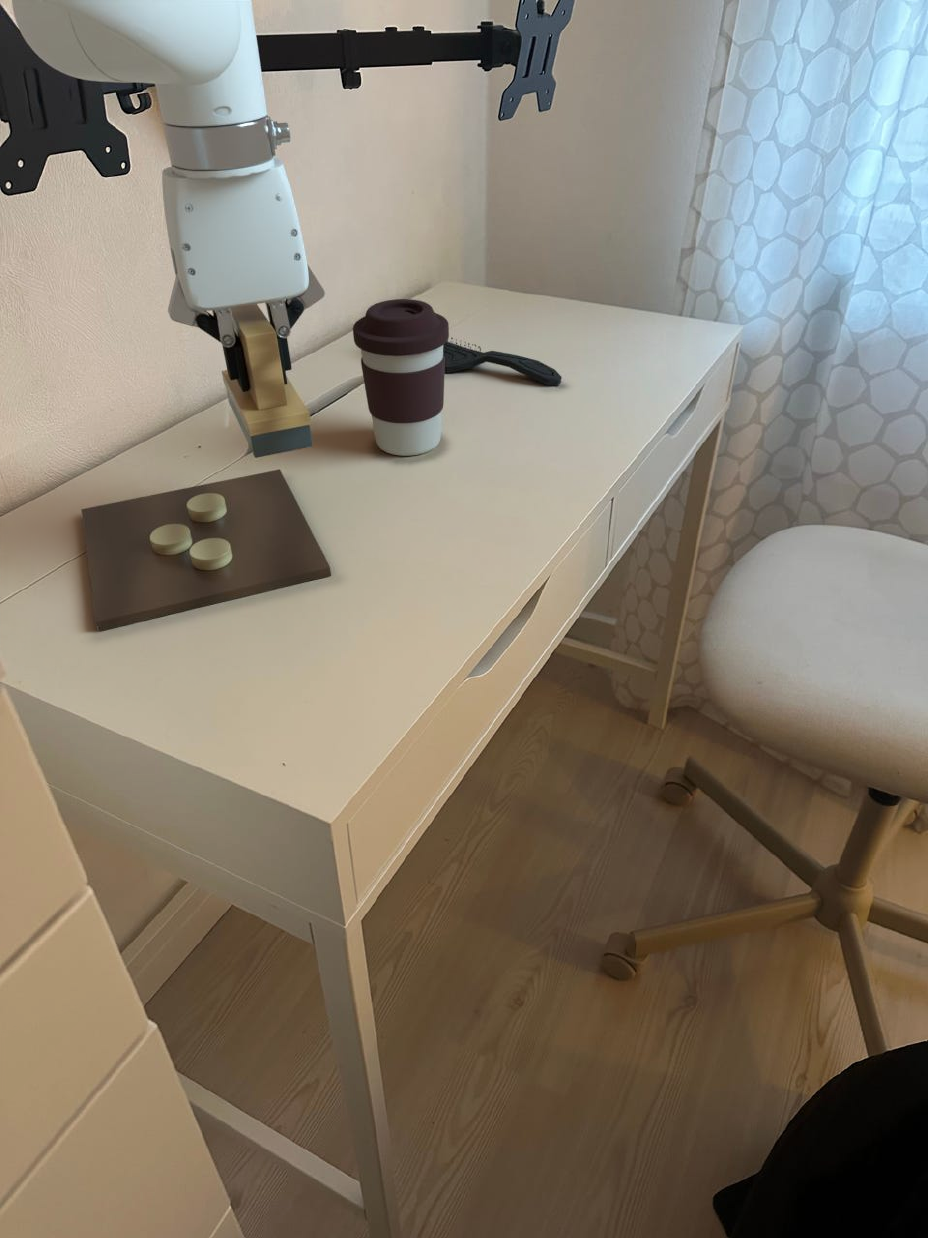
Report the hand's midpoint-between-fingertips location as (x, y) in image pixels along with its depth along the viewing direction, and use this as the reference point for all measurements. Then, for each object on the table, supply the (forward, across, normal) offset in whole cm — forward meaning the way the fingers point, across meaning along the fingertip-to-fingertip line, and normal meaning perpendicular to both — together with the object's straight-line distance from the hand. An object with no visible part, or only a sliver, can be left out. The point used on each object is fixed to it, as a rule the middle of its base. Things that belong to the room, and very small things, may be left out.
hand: (261, 380), depth 77 cm
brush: (+4, 0, 0) cm, 4 cm away
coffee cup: (+15, -17, -12) cm, 26 cm away
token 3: (+14, +8, +4) cm, 16 cm away
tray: (+15, +8, 0) cm, 17 cm away
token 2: (+14, +7, -4) cm, 16 cm away
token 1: (+14, +11, 0) cm, 18 cm away
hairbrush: (+16, -32, -29) cm, 46 cm away
